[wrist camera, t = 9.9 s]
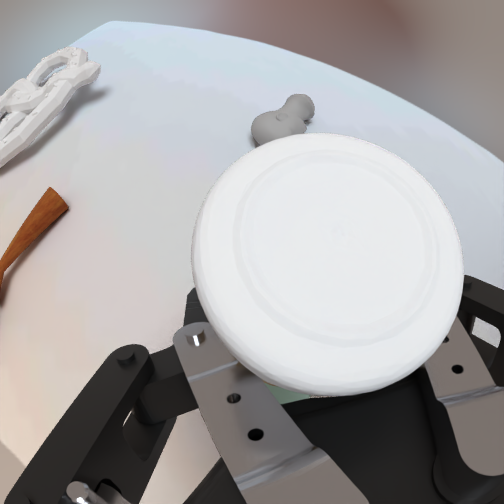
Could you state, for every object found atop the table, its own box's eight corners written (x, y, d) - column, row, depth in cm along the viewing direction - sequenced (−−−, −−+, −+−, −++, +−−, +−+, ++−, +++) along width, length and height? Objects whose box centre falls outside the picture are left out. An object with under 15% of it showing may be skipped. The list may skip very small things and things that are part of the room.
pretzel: (-21, 218, 32) (-50, 199, 26) (-16, 141, 41) (-34, 123, 35) (118, 92, 35) (97, 58, 29) (89, 50, 44) (75, 27, 38)
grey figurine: (272, 169, 32) (241, 136, 32) (320, 133, 34) (290, 104, 34) (283, 150, 28) (247, 114, 28) (334, 114, 30) (301, 82, 30)
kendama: (65, 196, 26) (-45, 350, 18) (82, 223, 31) (-14, 357, 23) (35, 170, 26) (-67, 311, 18) (53, 198, 32) (-38, 322, 24)
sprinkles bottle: (302, 295, 18) (377, 104, 6) (335, 367, 16) (511, 300, 4) (227, 326, 17) (152, 168, 5) (259, 401, 15) (260, 458, 3)
